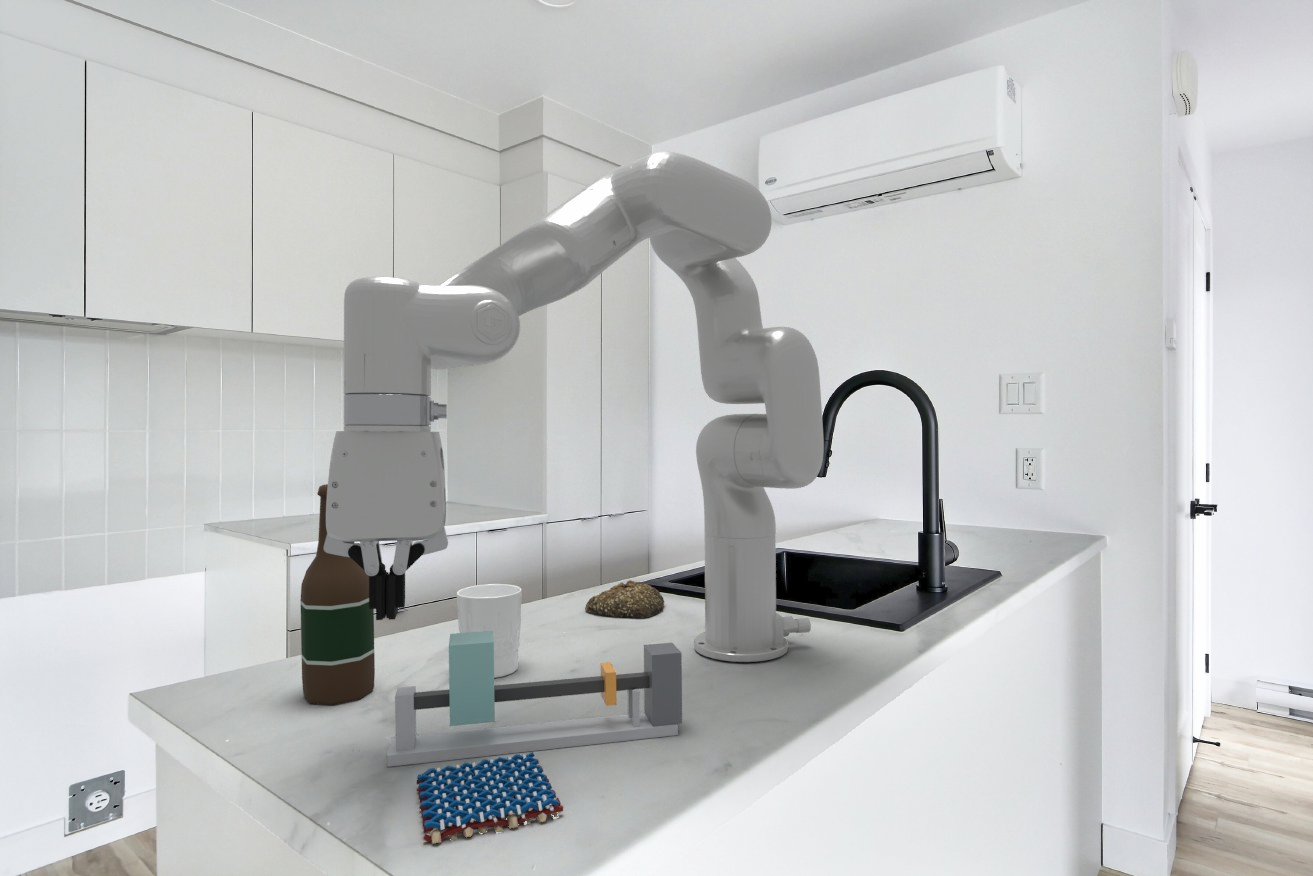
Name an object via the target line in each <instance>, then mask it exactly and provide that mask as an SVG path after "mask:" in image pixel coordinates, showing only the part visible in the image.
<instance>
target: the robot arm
mask: <svg viewBox="0 0 1313 876" xmlns="http://www.w3.org/2000/svg"><path fill="white" fill-rule="evenodd" d="M771 230H772V213H771V207H770V206H769V202H768V201H767V199H766V197H765V196H764V194H763V193H762V192H761V191H760V190H759V188H757V186H756V185H754V184H752V183H751V182H749V181H748V180H746V179H743V178H742V177H739V176H737V175H735V174H732V173H730V172H728V171H726V170H723V169H720V168H719V167H716V166H714V165H712V164H709V163H707V162H705V161H702V160H700V159H697V158H694V157H692V156H688V155H686V154H683V153H679V152H678V153H677V152H674V151H668V150H667V151H666V150H663V151H656V152H653V153H650V154H648V155H645V156H643V157H641V158H638V159H635V160H633V161H630V162H628V163H625V164H622V165H620V166H618V167H616V168H613V169H610V170H609V171H608V172H605V173H604V174H602V175H601V176H599V177H598V178H597V179H594V181H592V182H591V183H589V184H588V185H586V186H585V187H584V188H582V189H581V190H579V191H578V192H576V193H575V194H574V195H572V196H571V197H569V198H568V199H566V201H565V200H564V202H562V203H561V204H560V205H557V207H556V208H553V209H552V210H551V211H549V212H548V213H547V214H545V215H543V216H541V218H539V219H538V220H537V221H535V222H533V223H532V224H530V225H529V226H527V227H525V228H524V229H522V230H520V231H519V232H517V233H516V234H514V235H513V236H511V237H509V238H508V239H506V240H505V241H504V242H503V243H502V244H500V245H498V246H497V247H495V248H494V249H493V250H491V251H489V252H488V253H486V254H484V255H483V256H481V257H479V258H478V259H476V260H474V261H473V262H471V263H470V264H468V265H467V266H464V267H463V268H462V269H460V270H459V271H458V272H456V273H454V274H453V275H451V276H450V277H448V278H447V279H445V280H444V281H443V282H441V283H440V284H421V283H418V282H416V281H415V280H410V279H405V278H402V277H401V278H400V277H393V276H392V277H390V276H367V277H361V278H357V279H354V280H352V281H351V282H349V284H348V285H347V286H346V289H345V291H344V297H343V298H344V299H343V394H344V395H343V430H337V431H335V434H334V437H333V439H334V440H333V442H332V443H333V444H332V448H331V454H330V462H329V468H328V476H327V477H328V479H327V484H328V488H327V501H326V530H327V536H326V540H325V543H324V551H325V552H326V553H329V554H334V555H339V556H344V557H345V556H346V557H350V558H351V559H353V560H354V561H355V562H356V563H357V564H358V565H359V566H360V567H361V568H362V569H364V570H365V573H366V574H367V575H369V609H374V610H375V620H376V621H382V620H383V619H385V618H386V619H388V620H390V621H392V620H396V617H397V615H398V613H399V609H404V608H405V607H406V571H408V570H409V569H410V568H411V567H412V566H413V565H414V564H415V563H417V560H419V559H420V558H421V557H422V556H424V555H429V554H432V553H433V554H434V553H438V552H441V551H443V550H446V549H447V548H448V546H449V539H448V534H447V532H446V528H445V526H446V520H447V519H446V518H447V516H446V515H447V498H446V497H447V496H446V495H447V494H446V476H445V475H446V474H445V473H446V472H445V471H446V470H445V460H444V451H443V445H442V440H441V435H440V432H439V431H431V430H432V427H431V426H432V422H435V420H436V421H437V420H439V419H447V417H448V416H447V415H448V411H447V410H448V407H447V405H448V404H446V403H443V404H441V403H440V404H439V402H435V401H434V400H432V397H431V396H432V370H448V369H454V368H455V369H456V368H465V367H466V368H467V367H472V366H473V367H474V366H480V365H481V366H482V365H486V364H490V363H494V362H495V361H497V360H500V359H502V358H504V357H505V356H506V355H508V354H509V353H510V352H511V351H512V349H513V348H514V347H515V345H516V344H517V341H518V339H519V337H520V331H521V322H520V316H522V315H524V314H526V313H529V312H530V311H533V310H536V309H538V308H540V307H541V308H542V307H544V306H547V305H550V304H552V303H555V302H558V301H560V300H563V299H564V298H565V299H566V297H569V296H570V295H573V294H574V293H576V292H578V291H580V290H582V289H584V288H585V287H587V286H588V285H589V284H590V283H592V282H593V280H595V279H596V278H597V277H598V276H600V275H601V274H602V273H603V272H604V271H606V270H607V269H609V267H610V266H611V265H613V264H614V263H615V262H617V261H618V260H620V258H622V257H623V256H625V255H626V254H627V253H628V252H629V251H631V250H632V249H633V248H634V247H635V246H637V245H638V244H640V243H641V242H643V241H645V240H647V239H649V241H650V245H651V247H652V249H653V252H654V253H655V255H656V256H657V257H658V259H659V260H660V261H661V262H662V263H663V264H664V265H666V266H667V267H668V268H669V269H671V270H672V271H673V272H674V273H675V274H676V275H677V277H679V279H680V280H681V281H682V282H683V283H684V285H685V287H686V288H687V290H688V291H689V293H690V296H691V298H692V301H693V304H694V305H693V306H694V311H695V316H696V318H695V319H696V325H697V326H696V327H697V339H698V351H699V363H700V374H701V375H700V376H701V381H702V385H703V389H704V392H705V394H706V395H707V396H708V398H709V399H710V400H713V402H717V403H719V404H727V405H752V404H757V405H758V404H764V408H765V413H736V414H735V413H734V414H733V413H732V414H725V415H722V416H718V417H716V418H714V419H712V420H711V421H709V422H707V424H705V426H704V427H702V429H701V430H700V433H699V434H698V436H697V441H696V445H695V446H696V447H695V454H696V462H697V469H698V474H699V477H700V483H701V489H702V497H703V498H702V500H703V511H704V512H703V513H704V514H703V516H704V518H703V519H704V602H705V604H704V606H705V607H704V610H705V611H704V612H705V614H704V615H705V616H704V617H705V618H704V619H705V623H704V624H705V627H704V628H705V632H702V633H699V634H698V635H697V636H695V637H694V639H693V640H694V641H693V647H694V650H695V651H696V653H698V654H699V655H702V656H704V657H706V658H710V659H713V660H718V661H725V662H732V663H733V662H734V663H736V662H737V663H754V662H755V663H756V662H764V661H770V660H774V659H778V658H781V657H782V656H784V655H785V654H786V653H787V652H788V650H789V641H788V640H787V638H786V637H788V636H789V635H790V634H792V633H794V634H795V633H796V634H804V633H810V632H811V631H812V630H811V629H812V623H811V620H810V618H808V617H804V618H803V617H801V618H794V616H793V615H791V616H790V615H789V616H781V615H780V614H779V613H777V579H776V578H777V573H776V571H777V567H776V566H777V565H776V563H777V562H776V561H777V559H776V558H777V557H776V556H777V555H776V553H777V551H776V545H777V544H776V534H777V533H776V530H777V528H776V527H777V526H776V517H775V512H774V508H773V507H774V506H773V505H772V502H771V500H770V498H769V495H768V494H767V492H766V490H765V488H770V489H787V490H789V489H791V490H792V489H793V490H794V489H800V488H801V489H802V488H804V487H807V486H808V485H810V484H811V483H813V482H814V481H815V479H816V478H817V477H818V475H819V473H820V471H821V469H822V465H823V461H824V451H825V450H824V448H825V447H824V446H825V445H824V444H825V441H824V427H823V426H824V425H823V411H822V409H823V407H822V394H821V393H822V392H821V377H820V370H819V363H818V358H817V354H816V352H815V350H814V347H813V345H812V343H811V342H810V340H809V339H808V338H807V336H806V335H804V333H802V332H801V331H799V330H798V329H795V328H793V327H788V326H775V327H774V326H772V327H764V328H763V322H762V321H763V320H762V315H761V305H760V297H759V292H758V289H757V285H756V284H755V282H754V279H753V278H752V276H751V275H750V273H749V271H748V270H747V269H746V267H745V266H744V265H743V264H742V263H741V262H740V261H739V260H738V259H737V258H741V257H744V256H748V255H751V254H753V253H755V252H756V251H757V250H760V249H761V248H762V247H763V245H764V244H765V243H766V241H767V239H768V238H769V236H770V233H771ZM391 541H392V542H394V541H395V542H396V545H395V552H394V555H393V557H394V558H393V562H392V564H391V566H390V568H389V571H387V570H386V565H385V564H384V563H383V557H382V551H381V545H380V542H391ZM413 541H416V542H414V543H413ZM353 542H354V543H353ZM359 542H360V543H359Z"/></svg>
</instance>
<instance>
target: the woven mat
mask: <svg viewBox="0 0 1313 876" xmlns="http://www.w3.org/2000/svg"><path fill="white" fill-rule="evenodd" d="M543 772H544V768H543V766H542V765H540V761H539V759H538V758H535V754H534V751H530V752H529V753H527V754H523V753H522V754H520V753H519V754H517V753H515V754H514V755H513V756H510V755H508V756H507V758H505V757H500V756H498V757H496V759H494V760H493V759H492V758H491V759H489V760H488V759H482V760H481V761H480V762H478V763H477V764H476V762H472V763H470V762H463V763H462V765H460V764H456V765H455V766H451V765H447V766H445V767H443V768H442V769H441V768H440V767H437V768H434V767H433V768H429V769H427V770H426V771H424V772H422V773H421V774H417V776H416V777H417V778H416V785H418V787H417V788H416V792H417V794H418V799H419V803H420V804H419V810H420V812H421V814H420V815H421V819H422V828H423V833H424V836H423V837H422V838H423V841H425V842H427V843H429V842H432V843H431V844H432V845H433V844H434V845H437V844H436V843H439V844H441V843H442V841H443V840H445V838H446V837H448V835H449V837H450V839H451V840H453V841H455V840H454V839H458V833H461V832H462V834H463V837H464V836H465V837H466V838H465V837H464V838H465V839H468V838H467V837H471V836H472V835H473V836H474V829H477V830H478V833H479V832H480V833H486V831H487V830H488V829H487V828H488V827H493V826H494V828H493V830H494V829H495V831H494V833H495V832H503V833H504V828H503V826H505V827H506V826H509V827H508V828H509V829H510V830H511V828H513V829H517V828H518V827H519V825H518V824H520V825H521V824H523V822H525V821H527V824H531V825H532V823H531V820H530V819H533V818H535V819H536V818H537V819H536V821H537V820H538V821H539V822H544V823H546V821H547V816H548V815H550V814H552V815H554V817H558V816H557V814H559V813H560V812H563V811H564V806H563V805H561V804H562V803H561V801H560V799H559V798H558V797H557V796H556V795H557V793H556V791H555V790H554V789H553V786H552V784H551V783H552V782H550V779H549V778H548V776H547V775H546V774H544V773H543ZM557 812H558V813H557ZM518 816H519V817H518ZM505 817H506V818H507V820H506V819H505ZM552 817H553V816H552ZM552 817H551V818H552ZM475 820H476V821H475ZM538 821H537V822H538ZM539 822H538V823H539ZM477 827H478V828H477ZM442 830H443V831H442ZM441 831H442V832H441ZM488 831H489V830H488ZM427 833H429V834H427ZM486 834H487V833H486ZM473 836H472V837H473ZM449 837H448V838H449ZM450 839H449V840H450ZM441 840H442V841H441Z"/></svg>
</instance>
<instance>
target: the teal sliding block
mask: <svg viewBox="0 0 1313 876" xmlns="http://www.w3.org/2000/svg"><path fill="white" fill-rule="evenodd" d="M494 685H495V678H494V640H493V631H482V632H468V633H460V632H458V633H457V632H456V633H449V641H448V687H449V689H448V690H449V696H450V707H449V727H457V726H465V725H477V724H487V723H494V722H496V717H495V715H496V713H495V708H496V707H495V703H496V702H494Z"/></svg>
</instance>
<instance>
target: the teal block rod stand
mask: <svg viewBox="0 0 1313 876" xmlns="http://www.w3.org/2000/svg"><path fill="white" fill-rule="evenodd" d="M682 658H683V657H682V651H680V650H679V648H678V647H677V646H676V645H675V644H674V643H673V642H663V643H651V644H643V672H631V673H621V674H617V671H616V669H615V668H614V666H613V664H612V662H611V661H607V662H606V661H605V662H600V675H599V676H598V675H597V676H588V677H575V678H565V679H563V678H562V679H551V680H542V681H532V682H531V681H530V682H529V681H528V682H518V683H509V684H508V683H507V684H494V702H495V703H502V702H503V703H504V702H512V701H522V700H533V699H534V700H535V699H543V698H544V699H545V698H556V697H557V698H559V697H568V696H577V695H579V696H580V695H588V694H598V693H600V695H601V698H602V700H603V703H604V704H605V707H610V706H617V692H621V691H627V713H625V714H614V715H606V716H605V715H604V716H596V717H586V718H585V717H584V718H574V719H563V720H555V721H546V722H545V721H544V722H534V723H526V724H516V725H507V726H506V725H504V726H497V727H485V728H476V729H467V730H457V731H455V730H454V731H446V732H437V733H428V734H427V733H426V734H417V710H428V709H437V708H440V709H441V708H450V696H449V689H439V690H430V691H429V690H428V691H418V692H416V686H415V685H413V686H402V687H401V686H399V687H397V688H396V692H395V694H394V695H395V696H394V713H395V714H394V717H395V718H394V719H395V720H394V721H395V722H394V723H395V729H394V730H395V737H391V739H390V743H389V745H388V746H389V747H388V750H387V753H386V767H387V768H389V767H390V768H391V767H398V766H399V767H400V766H407V765H416V764H425V763H427V764H428V763H434V762H435V763H436V762H443V761H453V760H462V759H471V758H481V757H489V756H490V757H492V756H498V755H499V756H500V755H509V754H517V753H519V754H520V753H527V752H535V751H536V752H537V751H544V750H545V751H546V750H552V749H563V748H570V747H571V748H572V747H573V748H574V747H581V746H591V745H599V744H609V743H619V742H625V741H627V742H628V741H635V740H636V741H637V740H644V739H645V740H646V739H654V738H663V737H671V736H678V735H679V730H678V729H679V725H681V724H683V682H682V681H683V669H682V668H683V667H682V664H683V663H682V661H683V659H682ZM641 689H643V690H644V691H643V692H644V693H643V694H644V695H643V697H644V698H643V699H644V700H643V701H644V706H643V707H644V711H643V712H640V709H641V708H640V690H641Z"/></svg>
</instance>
